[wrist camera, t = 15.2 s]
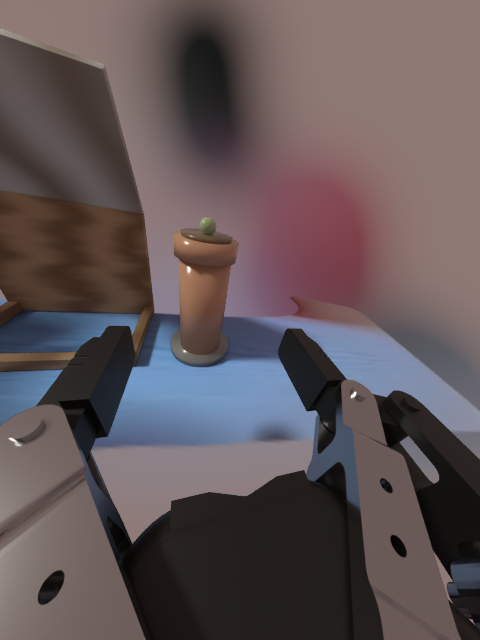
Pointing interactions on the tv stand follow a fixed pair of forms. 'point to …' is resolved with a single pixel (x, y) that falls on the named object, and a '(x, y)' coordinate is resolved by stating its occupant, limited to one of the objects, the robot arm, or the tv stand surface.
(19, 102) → the cold frame
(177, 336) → the grey-brown flat disc
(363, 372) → the tv stand surface
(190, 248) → the pot
